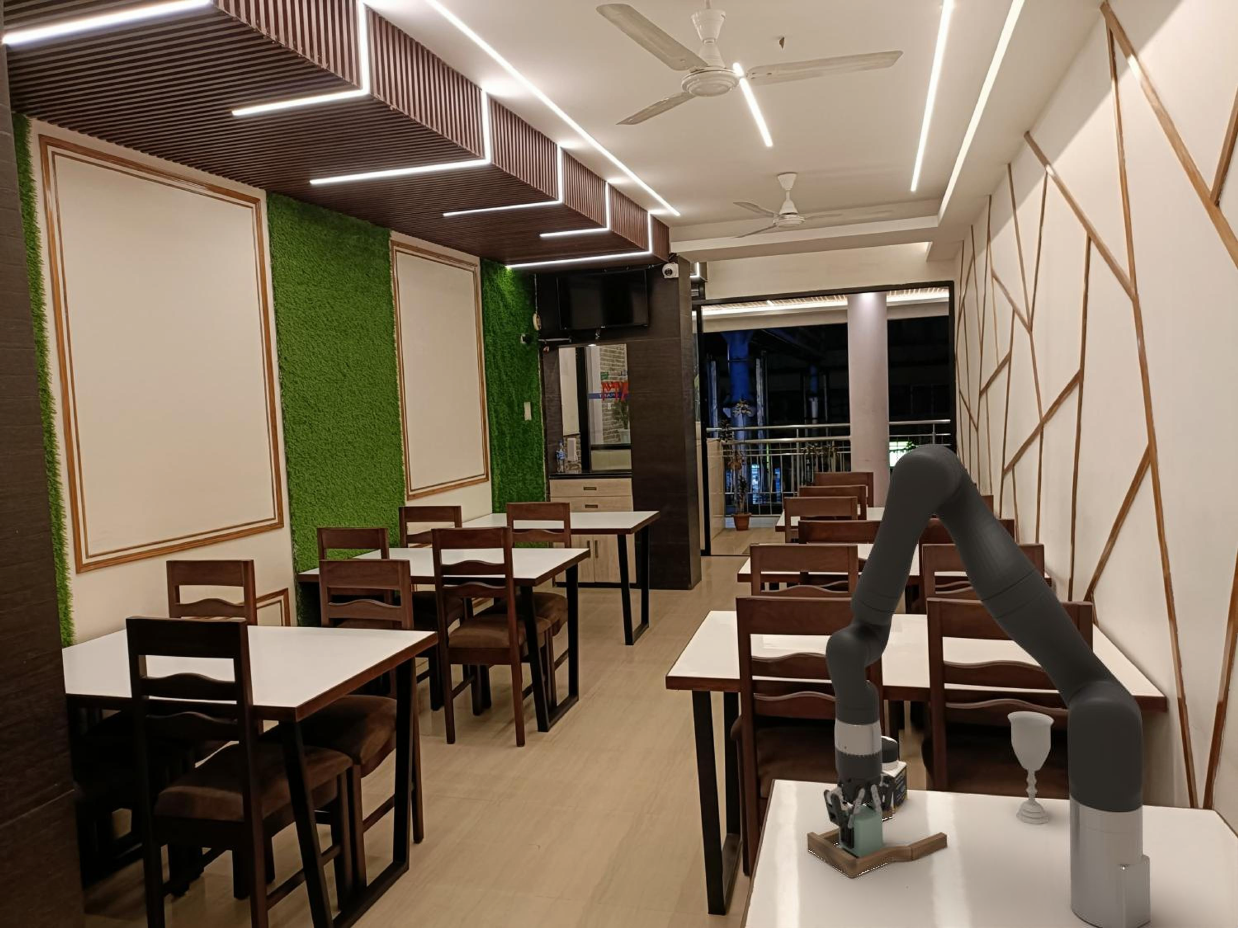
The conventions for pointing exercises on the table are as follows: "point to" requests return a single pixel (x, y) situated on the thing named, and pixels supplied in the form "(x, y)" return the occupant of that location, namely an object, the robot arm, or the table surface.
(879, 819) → the teal block
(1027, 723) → the chalice
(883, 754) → the medicine bottle
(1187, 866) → the table surface
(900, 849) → the keyhole rail
